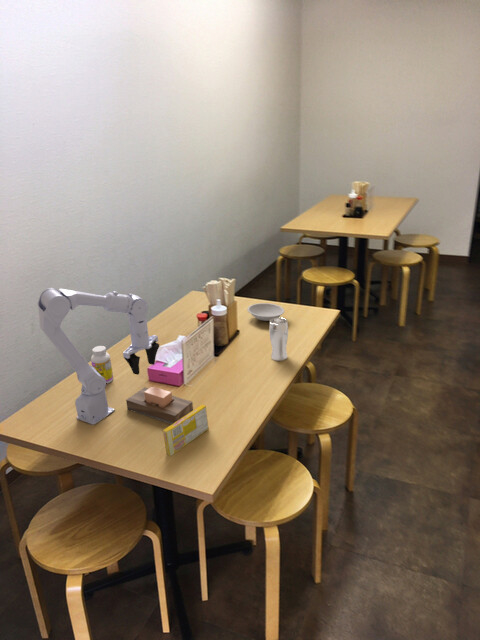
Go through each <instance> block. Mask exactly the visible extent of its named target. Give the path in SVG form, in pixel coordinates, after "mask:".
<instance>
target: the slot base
mask: <svg viewBox="0 0 480 640" xmlns="http://www.w3.org/2000/svg"><path fill="white" fill-rule="evenodd" d="M149 388H150V387H149ZM149 388H148V387H142V388H141V389H140V390H138V391H136V392H135V393H134V394H132V395H131V396H130V397H128V398H127V399H125V401H126V407H127V410H128V411H131V410H132V412H134V411H135V413H136V414H140V413H141V414H140V415H144V416H146V417H150V418H151V419H155V420H158V421H160V422H164V423H166V424H170V425H172V424H173V423H175V422H176V421H178V420H179V419H181V418H182V417H184V416H185V415H187V414H189V413H190V412H192V411H193V410H194V406H193V405H194V404H193V401H191V400H188V399H185V398H181V397H179V396H175V395H172V401H171V403H170V404H169V405H168V406H166V407H165V408H161V407H159V406H158V404H156V403H153V404H149V403H147V402H146V400H145V396H144V392H145V391H146V390H148V389H149Z"/></svg>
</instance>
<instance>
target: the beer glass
mask: <svg viewBox="0 0 480 640" xmlns="http://www.w3.org/2000/svg"><path fill="white" fill-rule="evenodd" d="M268 330H269V331H268V332H269V339H270V343H271V344H270V345H271V350H272V351H271V357H270V358H271V359H272V360H274V361H275V362H281V361H285V360H287V359H288V352H287V345H288V338H289V324H288V319H286V318H284V317H278V318H273V319H271V320H270V321H269V329H268Z"/></svg>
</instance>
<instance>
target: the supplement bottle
mask: <svg viewBox="0 0 480 640" xmlns="http://www.w3.org/2000/svg"><path fill="white" fill-rule="evenodd" d="M91 350H92V351H91V352H92V355H91V358H90V363H91V366H93V367H94V368H95V369H96V371H97V372H98V373H99V374H100V375H101V376H102V377H103V378H104V379H105V380H106V383H107V384H109V383H111V382H113V380H114V374H113V368H112V360H111V355H110V353H108V352H107V347H106V346H104V345H96V346H94V347H93V348H92V349H91Z"/></svg>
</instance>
